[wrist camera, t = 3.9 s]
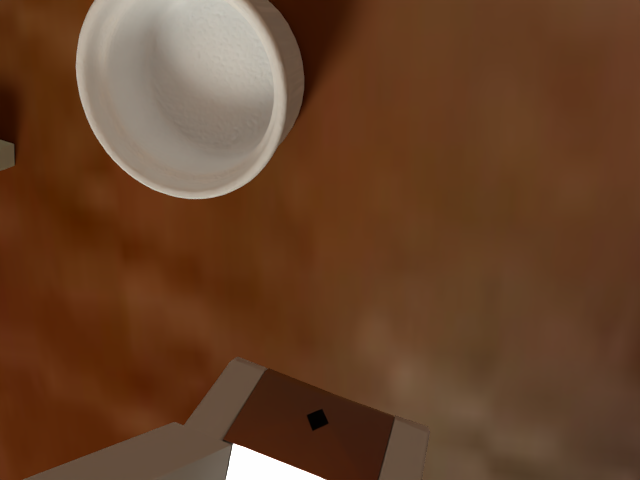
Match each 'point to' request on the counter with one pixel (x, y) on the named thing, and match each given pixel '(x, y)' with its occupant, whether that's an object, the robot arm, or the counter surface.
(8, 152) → the tray frame
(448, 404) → the counter surface
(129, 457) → the robot arm
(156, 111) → the ramekin
